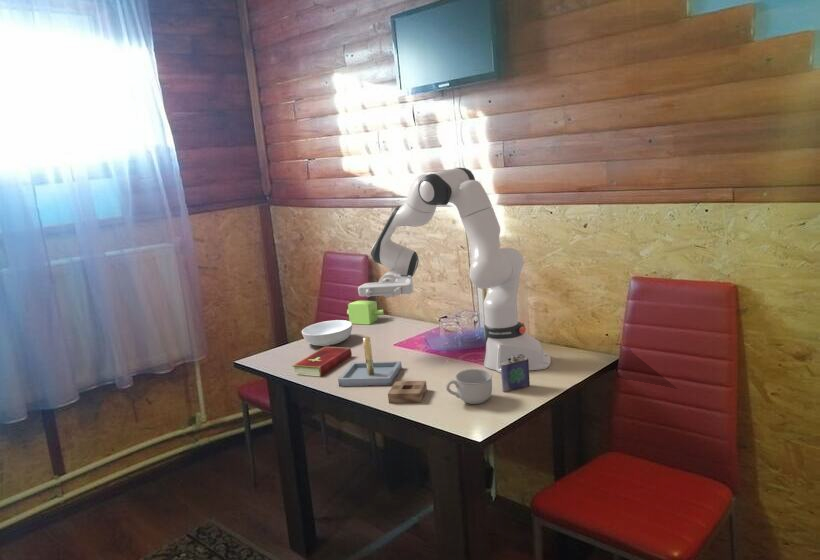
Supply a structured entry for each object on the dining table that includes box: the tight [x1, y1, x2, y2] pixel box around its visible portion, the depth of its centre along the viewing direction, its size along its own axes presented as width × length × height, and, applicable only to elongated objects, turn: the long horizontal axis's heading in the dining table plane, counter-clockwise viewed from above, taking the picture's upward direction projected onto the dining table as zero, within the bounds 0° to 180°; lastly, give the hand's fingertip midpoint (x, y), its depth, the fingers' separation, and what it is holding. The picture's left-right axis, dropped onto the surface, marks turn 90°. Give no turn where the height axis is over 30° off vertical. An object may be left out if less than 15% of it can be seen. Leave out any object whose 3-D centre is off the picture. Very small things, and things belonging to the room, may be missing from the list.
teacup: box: [445, 368, 493, 405], centre depth 183 cm, size 14×11×8 cm
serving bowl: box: [301, 319, 353, 347], centre depth 257 cm, size 21×21×7 cm
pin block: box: [387, 380, 428, 404], centre depth 192 cm, size 10×10×3 cm
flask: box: [500, 354, 531, 393], centre depth 188 cm, size 9×3×11 cm, turn 110°
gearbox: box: [346, 300, 385, 325], centre depth 283 cm, size 18×10×10 cm, turn 64°
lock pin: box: [362, 336, 374, 375], centre depth 211 cm, size 2×2×13 cm
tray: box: [337, 360, 403, 387], centre depth 212 cm, size 18×16×2 cm
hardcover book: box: [291, 346, 353, 377], centre depth 230 cm, size 12×21×4 cm, turn 154°
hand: (380, 294), depth 219 cm, fingers open, 8 cm apart
